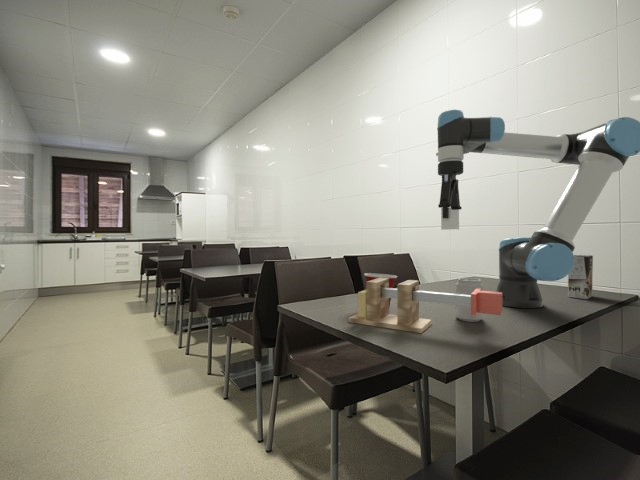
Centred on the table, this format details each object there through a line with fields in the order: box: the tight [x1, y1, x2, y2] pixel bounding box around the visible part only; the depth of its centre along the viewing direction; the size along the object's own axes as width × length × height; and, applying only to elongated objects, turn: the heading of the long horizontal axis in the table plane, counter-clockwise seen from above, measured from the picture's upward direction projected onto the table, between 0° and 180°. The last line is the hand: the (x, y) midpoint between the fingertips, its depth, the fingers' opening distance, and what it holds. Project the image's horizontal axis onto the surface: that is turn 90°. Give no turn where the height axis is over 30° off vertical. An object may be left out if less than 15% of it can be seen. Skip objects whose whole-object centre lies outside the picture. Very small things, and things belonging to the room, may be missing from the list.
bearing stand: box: [348, 278, 433, 334], centre depth 97 cm, size 21×10×12 cm, turn 58°
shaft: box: [381, 287, 503, 316], centre depth 90 cm, size 31×9×5 cm, turn 58°
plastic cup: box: [364, 272, 398, 309], centre depth 114 cm, size 11×11×12 cm
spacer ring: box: [357, 289, 366, 319], centre depth 101 cm, size 2×7×7 cm, turn 148°
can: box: [455, 277, 484, 323], centre depth 101 cm, size 8×8×12 cm
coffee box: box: [567, 254, 594, 300], centre depth 133 cm, size 9×6×16 cm
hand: (450, 229), depth 108 cm, fingers open, 13 cm apart
